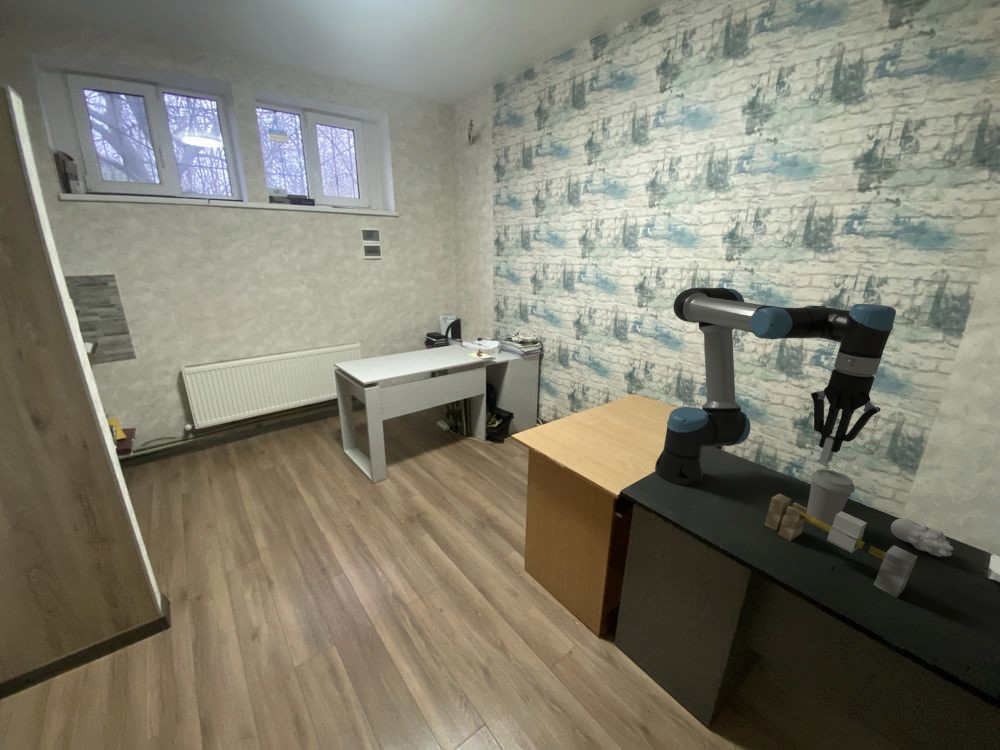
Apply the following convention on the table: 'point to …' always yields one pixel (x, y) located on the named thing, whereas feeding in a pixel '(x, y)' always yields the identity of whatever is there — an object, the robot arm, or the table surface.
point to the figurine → (922, 537)
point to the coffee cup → (828, 494)
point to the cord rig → (894, 560)
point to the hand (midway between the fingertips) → (824, 461)
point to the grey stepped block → (846, 531)
